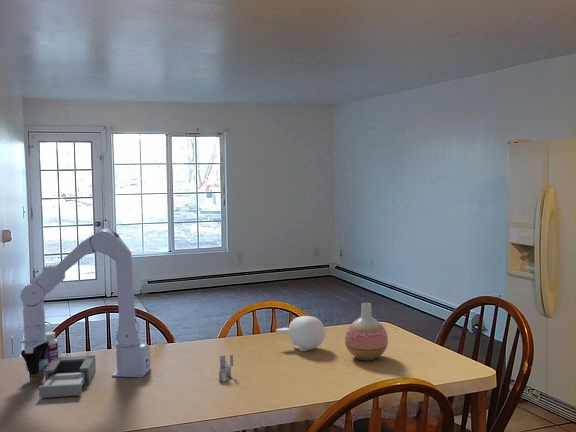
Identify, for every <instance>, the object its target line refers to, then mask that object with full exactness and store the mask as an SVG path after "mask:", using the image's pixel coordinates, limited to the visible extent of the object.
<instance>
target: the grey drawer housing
mask: <svg viewBox="0 0 576 432" xmlns="http://www.w3.org/2000/svg"><path fill="white" fill-rule="evenodd" d="M96 365H97V364H96V355H79V356H78V355H77V356H61V357H59V356H58V358H54V359H53V361H52V362H51V363H50V365H47V368H45V369H44V379H45V383H46V381H47V380H48V379H49V377H50V376H51V374H62V373H79V372H86V379H85V381H84V383H83V385H82V386H85V385H86V386H88V385H90V384H91V381H92V379H93V377H94V375H95V373H96V370H97V366H96Z"/></svg>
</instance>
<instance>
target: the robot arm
mask: <svg viewBox="0 0 576 432" xmlns="http://www.w3.org/2000/svg"><path fill="white" fill-rule="evenodd" d="M96 252H97V253H99V254H103V255H105V256H108V257H109V258H111V260H112V261H114V262H115V269H116V286H117V287H116V289H117V302H118V304H117V305H118V328H117V331H116V332H115V333H116V334H115V339H116V342H115V348H116V349H115V353H116V355H115V357H116V371H115V372H113V373H112V374H111V377H116V378H118V377H123V378H143V377H144V376H145V375H146V374H148V373H149V372H150V370H151V369H152V367H151V349H150V345H149V344H146V343H142V342H141V340H142V339H140V338H139V333H140V323H138V321H137V318H136V317H137V316H136V310H135V309H136V308H135V295H134V294H135V293H134V274H133V259H132V258H133V256H132V251H131V250H130V248H129V247H128V246H127V245H126V243H125V242H124V241H123V239H122V238H121V236H120V235H119V234H118V233H117V232H115V231H114V230H113V229H110V228H107V227H105V228H101V229H99V230H97V231H96V232H95V233H94V234H92V235H90V236H88V238H85V239H83V241H81V242H80V243H79V244H78V245H77V246H76V247H75V248H74V249H73V250H71V251H70V252H69V253H68V254H67V255H66V256H65V257H64V258H63V259H62V260H61V261H59V263H58V264H50V265H45V267H43V268H42V271H41V273H39V275H37V276H36V277H35V278H31V279H30V283H29V284H27V285H26V286H24V287H23V289H22V290H21V292H20V300H21V302H22V307H23V308H22V309H23V310H22V318H23V336H24V337H23V339H21V340H19V343H20V344H23V345H24V349H22V350H21V351H20V355H21V357H22V359H24V362H25V365H26V364H27V367H28V371H27V372H29V374H30V375H31V374H38V370H39V361H40V359H45V353H46V350H47V347H48V345H49V341H46V335H45V332H46V321H45V320H46V317H45V305H44V304H45V303H44V302H45V301H44V299H45V297H46V295H48V294H49V293H50V292H52V291H53V290H54V289H55V288H56V287H57V286H58V285H59V284H61V283H62V282H63V281H64V280H65V278H66V272H67V271H68V270H69V269H70V268H72V267H74V265H75V264H76V263H77V262H79V261H80V260H81V259H82V258H83V257H85V256H87V255H92V254H95V253H96Z"/></svg>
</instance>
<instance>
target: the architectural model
mask: <svg viewBox="0 0 576 432" xmlns="http://www.w3.org/2000/svg"><path fill="white" fill-rule="evenodd" d="M229 362H230V363H228V362H227V361H226V355H225V354H223V355H220V356H219V371H218V382H221V381H222V382H226V381H227V382H228V380H229V377H232V367H234V355H233V354H229Z"/></svg>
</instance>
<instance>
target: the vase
mask: <svg viewBox="0 0 576 432" xmlns="http://www.w3.org/2000/svg"><path fill="white" fill-rule="evenodd" d="M360 308H361V309H360V310H361V311H360V312H361V313H360V317H358V318H357V319H355V320H354V321H353V322H351V323H350V325H349V326H348V327H347V330H346V332H345V336H344V344H345V347H346V350H348V352H349V353H350V354H351V355H352V356H354V358H356V359H357V360H360V361H364V362H365V361H367V362H368V361H374V360H377V359H379V357H380V356H382V355H383V354H384V353H385V351H386V350H387V348H388V346H389V337H388V333H387V331H386V328H385V327H384V326H383V324H381V322H380V321H378V320H377V319H376V318H375V317H372V303H370V302H361V307H360Z"/></svg>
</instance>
